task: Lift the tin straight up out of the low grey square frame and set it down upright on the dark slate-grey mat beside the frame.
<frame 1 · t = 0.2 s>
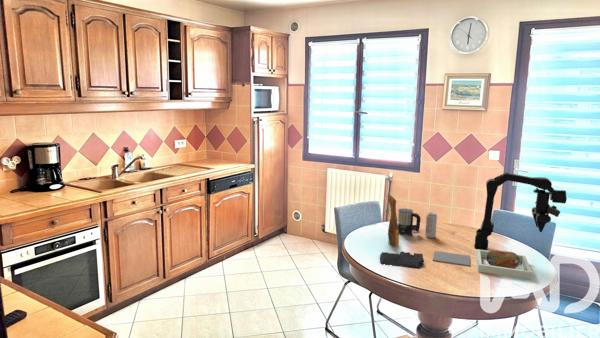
hand: (539, 229, 220), 15 cm above the table, tool pointing down, fingers open, 9 cm apart
tin: (501, 267, 206), resting in grey square frame
energy drink can: (430, 237, 250), on the table
slate mat: (451, 258, 215), on the table
milk frother: (407, 231, 260), on the table
cast iron trivet: (401, 262, 211), on the table
pancake mix bag: (392, 242, 239), on the table
grey square frame: (501, 266, 206), on the table
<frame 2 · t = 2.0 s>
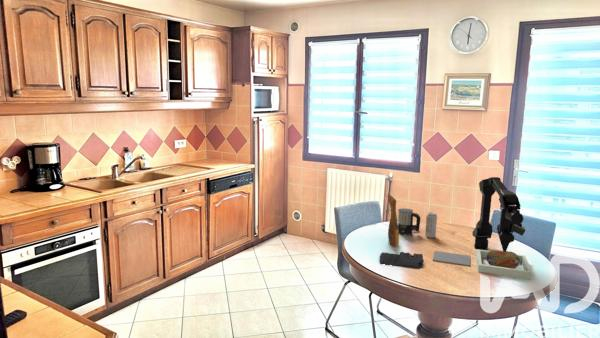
hand: (503, 248, 204), 10 cm above the table, tool pointing down, fingers open, 9 cm apart
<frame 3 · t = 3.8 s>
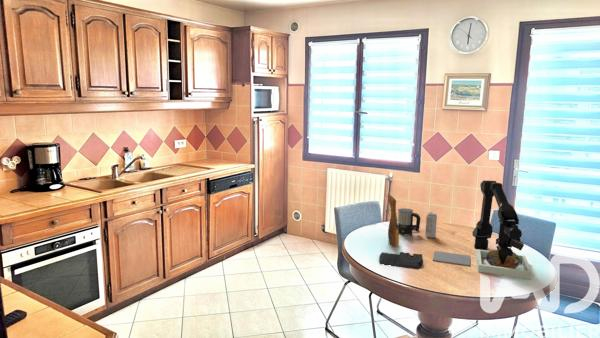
hand: (502, 262, 205), 2 cm above the table, tool pointing down, fingers closed on tin, 2 cm apart
tin: (501, 267, 206), resting in grey square frame, touching gripper
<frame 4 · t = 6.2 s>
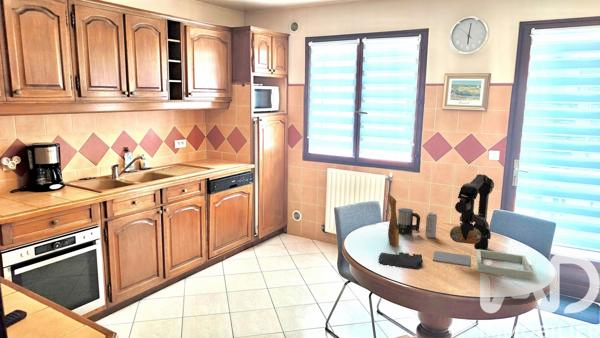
hand: (465, 238, 211), 12 cm above the table, tool pointing down, fingers closed on tin, 2 cm apart
tin: (464, 242, 211), point 10 cm above the table, touching gripper
when the fingers open (4 cm above the table, at t = 8.8 s): tin stays where it is, resting on slate mat.
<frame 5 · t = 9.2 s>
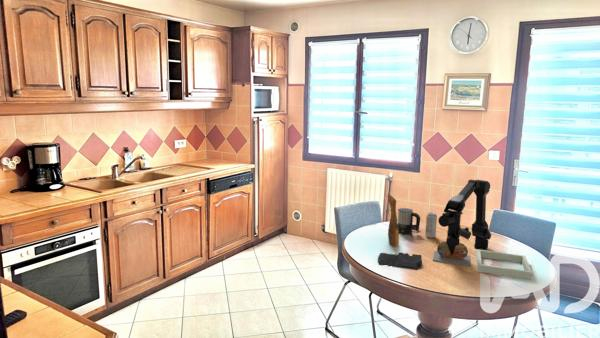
hand: (452, 251, 215), 4 cm above the table, tool pointing down, fingers open, 7 cm apart
tin: (451, 257, 215), resting on slate mat
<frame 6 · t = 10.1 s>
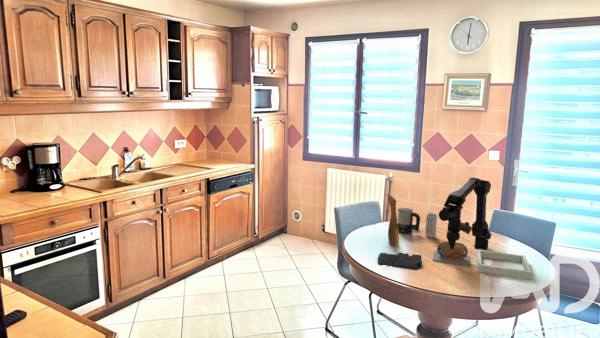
hand: (452, 246, 214), 7 cm above the table, tool pointing down, fingers open, 9 cm apart
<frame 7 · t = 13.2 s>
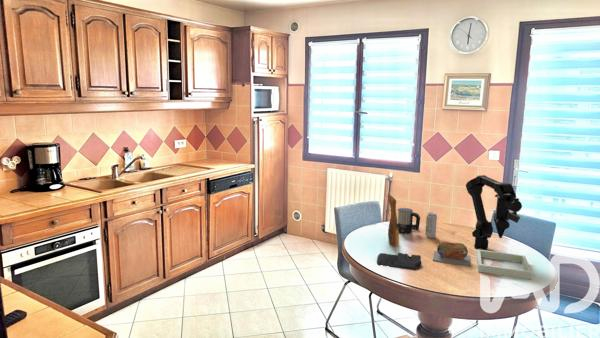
hand: (499, 235, 217), 12 cm above the table, tool pointing down, fingers open, 9 cm apart
at the end: tin inside the target area on the slate mat (0.2 cm from its centre), point 0.4 cm above the slate mat's base; tin tilted 0°; the gripper is holding nothing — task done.
